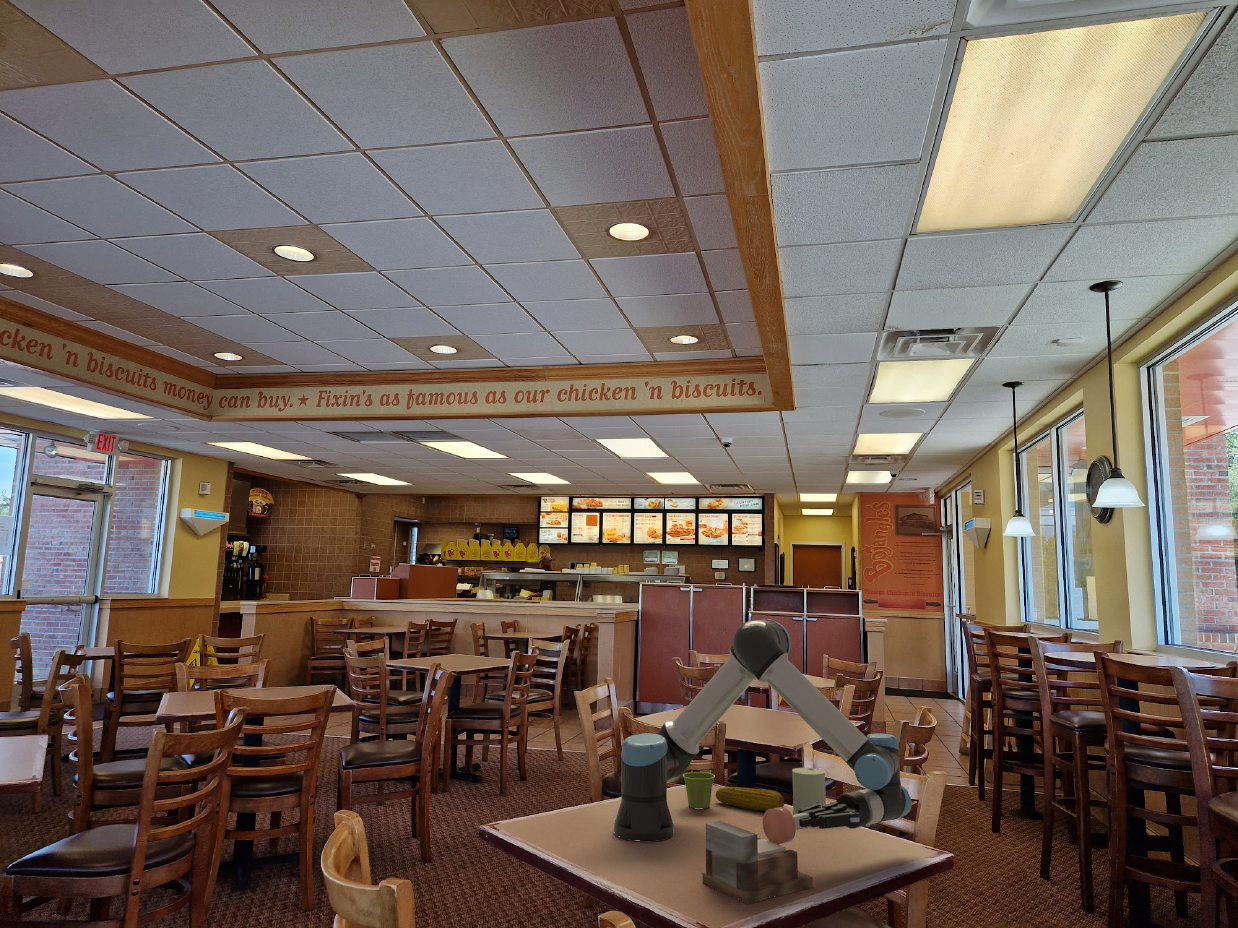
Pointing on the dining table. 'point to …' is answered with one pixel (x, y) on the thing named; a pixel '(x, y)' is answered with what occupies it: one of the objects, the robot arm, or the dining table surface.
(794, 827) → the plunger
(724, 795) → the food
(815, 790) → the can
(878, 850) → the dining table surface
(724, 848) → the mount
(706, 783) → the plant pot
